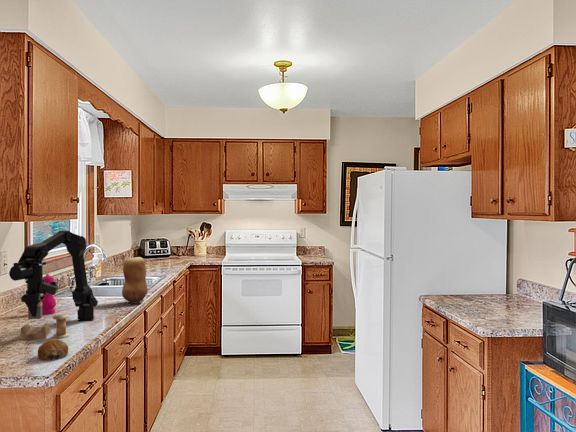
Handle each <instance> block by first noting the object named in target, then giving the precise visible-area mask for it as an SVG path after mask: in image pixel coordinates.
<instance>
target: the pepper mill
mask: <svg viewBox="0 0 576 432" xmlns="http://www.w3.org/2000/svg"><path fill="white" fill-rule="evenodd" d="M43 278H44V279H45V283H51V282H52V281H54V282H55V278H54V277H53V276H52V275H50V273H49V272H46V273H45V275H44V276H43ZM42 296H45V297H44V298H43V299H42V300H41V302H42V316H43V315H46V316H47V315H53V314H55V313H56V309H55V307H56V306H57V302H56V299H55V296H54V295H51V294H49V293H48V294H46V295H45V294H42Z"/></svg>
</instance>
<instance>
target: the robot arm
mask: <svg viewBox="0 0 576 432" xmlns="http://www.w3.org/2000/svg"><path fill="white" fill-rule="evenodd" d="M61 244H64V245H65V248H66V251H67V252H68V253H69V255H70V256H71V261H72V267H73V275H74V282H75V288H74V290H72V291H71V295H72V300H73V303H74V306H75V307H76V308H77V307H78V309H77V310H76V311H77V321H78V322H84V321H85V322H86V321H87V322H88V321H94V320H95V308H96V307H98V303H99V301H98V299H97V298H96V297H95V296H94V292H93V289H92V288H91V287H90V285H89V284H88V278H87V271H86V262H85V257H84V255H85V252H86V251H87V250H86V249H87V239H86V237H84V236H82V235H79V234H76V233H73V232H71V231H69V230H59V231H57V233H55V234H53V235H51V236H50V237H48V238H46V239H45V240H43V241H41V242H39V243H34V244H31V245H27V246H25V248H23V249H24V250H23V252H22V254H21V256H20V258H19V260H18V261H17V262H14V263H13V265H12V267H11V268H10V269H9V271H8V275H9V277H10V279H11V280H12V281H15V282H16V281H21V280H25V284H26V290H25V293H24V294H23V295H22V296H20V300H21V301H20V302H21V303H25V306H26V307H27V308H28V309H29V311H30V313H31V314H32V316H33V317H35V316H36V312H37V306H38V303H39V302H41V300H42V299H43V298H44V297H45V296H43V294H45V295H46V294H48V293H49V294H51V295H53V296H55V295H56V294H57V291H58V290H59V285H57V284H58V283H57V281H55V280H54V281H52V282H51V283H45V279H44V278H43V277H44V276H43V275H44V274H43V271H44V270H43V266H46V265H47V262H46V261H45V260H44V259H45V258H46V257H47V256H48V255H49V252H50V251H51V250H53V249H54V248H57V247H58V246H60V245H61ZM28 309H27V310H28Z"/></svg>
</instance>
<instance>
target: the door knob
mask: <svg viewBox="0 0 576 432" xmlns="http://www.w3.org/2000/svg"><path fill="white" fill-rule="evenodd" d="M69 318H70V315H69V314H65V313H61V314H60V313H59V314H55V315H53V316H52V320H55V327H56V329H55V331H56V332H55V333H54V334H53V335H52V339H65V338H68V337H70V333H69V332H67V319H69Z"/></svg>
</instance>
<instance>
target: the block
mask: <svg viewBox="0 0 576 432" xmlns="http://www.w3.org/2000/svg"><path fill="white" fill-rule="evenodd" d="M27 310H28V311H27V312H28V315H27V317H28V318H27V319H28V320H38V319H39V320H41V319H42V318H43V314H42V302H39V303H38V306H37V312H36V316H35V317H33V316H32V314H31V313H30V311H29V309H27Z"/></svg>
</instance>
